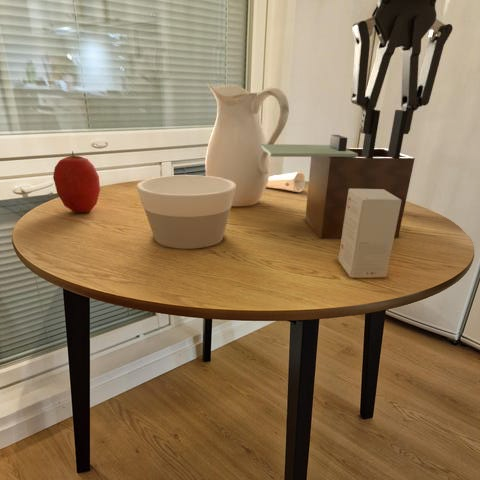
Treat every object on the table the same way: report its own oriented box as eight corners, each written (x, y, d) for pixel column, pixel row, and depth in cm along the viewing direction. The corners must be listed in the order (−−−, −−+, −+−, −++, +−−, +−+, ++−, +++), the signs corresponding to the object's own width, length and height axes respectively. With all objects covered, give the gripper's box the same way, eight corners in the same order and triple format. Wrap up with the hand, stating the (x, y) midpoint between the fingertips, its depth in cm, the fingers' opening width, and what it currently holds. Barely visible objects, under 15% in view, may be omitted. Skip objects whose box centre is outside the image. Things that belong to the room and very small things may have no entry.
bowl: (156, 221, 97) (153, 173, 92) (240, 226, 95) (241, 176, 90) (128, 250, 80) (121, 192, 75) (228, 256, 79) (229, 197, 73)
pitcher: (193, 200, 115) (189, 83, 102) (239, 192, 125) (241, 84, 112) (253, 219, 100) (258, 85, 86) (300, 208, 110) (311, 86, 96)
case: (373, 218, 103) (386, 148, 95) (398, 237, 91) (414, 158, 83) (305, 219, 101) (311, 147, 93) (321, 238, 89) (330, 157, 81)
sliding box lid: (336, 147, 93) (338, 133, 92) (357, 157, 82) (360, 140, 80) (260, 147, 92) (261, 132, 90) (270, 156, 80) (271, 139, 79)
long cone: (256, 186, 141) (305, 189, 129) (243, 191, 137) (294, 194, 125) (254, 168, 138) (304, 169, 126) (241, 173, 134) (292, 174, 122)
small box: (386, 278, 71) (403, 199, 65) (349, 278, 71) (362, 199, 64) (371, 260, 78) (384, 188, 72) (337, 260, 78) (347, 187, 71)
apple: (58, 208, 106) (47, 148, 99) (100, 205, 109) (92, 147, 102) (61, 219, 97) (48, 155, 91) (106, 215, 101) (97, 153, 94)
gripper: (458, -29, 58) (419, 153, 69) (341, -35, 56) (321, 153, 68) (492, -43, 51) (443, 161, 63) (360, -50, 50) (335, 160, 61)
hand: (380, 156), depth 65 cm, fingers open, 3 cm apart
